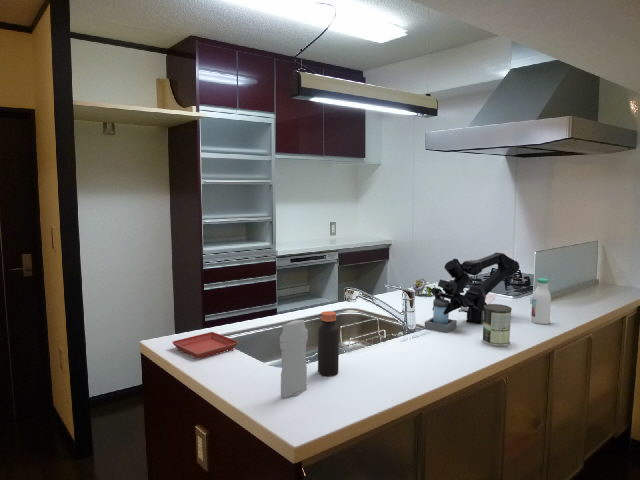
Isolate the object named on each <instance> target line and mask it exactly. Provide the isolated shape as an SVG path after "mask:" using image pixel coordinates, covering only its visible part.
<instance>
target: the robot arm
mask: <svg viewBox="0 0 640 480" xmlns="http://www.w3.org/2000/svg"><path fill="white" fill-rule="evenodd" d="M519 263H520V262H518V261H516V260H514V259H513V258H511V257H509V256H507V254H505V253H502V252H494V253H493V254H490V255H487V256H485V257H482V258H479V259H474V260H472V259H471V260H464V261H462V263H461V262H460V261H459V259H458V258H453V259H452V260H449V261H448V262H446V263H445V264H444V270H445V271H446V272H447V273H448V274H449V276H450V277H451V278H453V280H450V281H448V280H444V279H439V281H438V284H437V287H436V288H435V287H432V288H431V289H432V290H430V291H431V295H432V296H434V299H447V300H449V301H450V303H449V305H448V306H447V308H446V309H445V311H444V314H445V315H446V314H448V313H449V314H450V313H451V312H454V311H455V310H459V309H461V308H462V307H465V308H467V307H469V308H468V311H466V322H468V323H473V324H483V321H484V305H487V303H486V302H485V300H486V295H487V294H489V293H490V292H492V290H493V289H495V287H497V286H498V285H499V284H500V283H501V282H502V281H503V280H504V279H506V278H507V277H511V276H514V275H515V274H517V273H518V271H520V264H519ZM494 265H497V269H496V270H495V271H494V273H492V274H491V275H490V276H489V277H488V278H486V280H484V281H483V282H482V283H481V284H480V285H479V286H478V287H476V286H471V287H469V288H468V290H466V291H465V290H464V289H465V288H466V287H467V285H468V284H472V285H473V281H474V280H473V278H472V277H471V276H478V275H479V274H481V273H482V271H483V270H485V269H486V268H490V267H491V266H494ZM470 275H471V276H470ZM438 287H439V288H438ZM432 311H433V312H434V305H433V306H432Z"/></svg>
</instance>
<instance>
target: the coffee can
mask: <svg viewBox="0 0 640 480" xmlns="http://www.w3.org/2000/svg"><path fill="white" fill-rule="evenodd" d="M512 309H513V308H512V307H511V306H508V305H505V304H498V303H490V304H487V305H484V319H483V320H484V321H483V322H482V342H483V343H484V344H487V345H491V346H497V347H504V346H506V347H507V346H509V345H510V344H511V342H510V339H511V338H510V337H511V323H512V322H511V321H512V320H511V319H512V318H511V317H512Z"/></svg>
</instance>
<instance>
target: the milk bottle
mask: <svg viewBox="0 0 640 480" xmlns="http://www.w3.org/2000/svg"><path fill="white" fill-rule="evenodd" d="M536 284H537V286H536V288H535V289H534V292H533V294H532V302H531V315H530V316H531V318H530V319H531V322H532V323H533V324H534V323H535V324H537V325H538V324H539V325H548V324H550V322H551V309H552V308H551V306H552V305H551V304H552V295H551V292H550V289H549V287H548V285H549V279H548V278H542V277H541V278H537V280H536Z"/></svg>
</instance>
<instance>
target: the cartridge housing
mask: <svg viewBox="0 0 640 480" xmlns="http://www.w3.org/2000/svg"><path fill="white" fill-rule="evenodd" d="M457 323H458V320H455V319H450V318H449V319H448V324H447V325H444V324H439V323H433V316H432V317H431V318H428V319H427V320H425V321H424V327H423V328H424V329H425V330H431V331H437V332H440V333H441V332H442V333H450V332H451V331H453V330H454V329H456V328H457V325H458V324H457Z"/></svg>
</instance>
